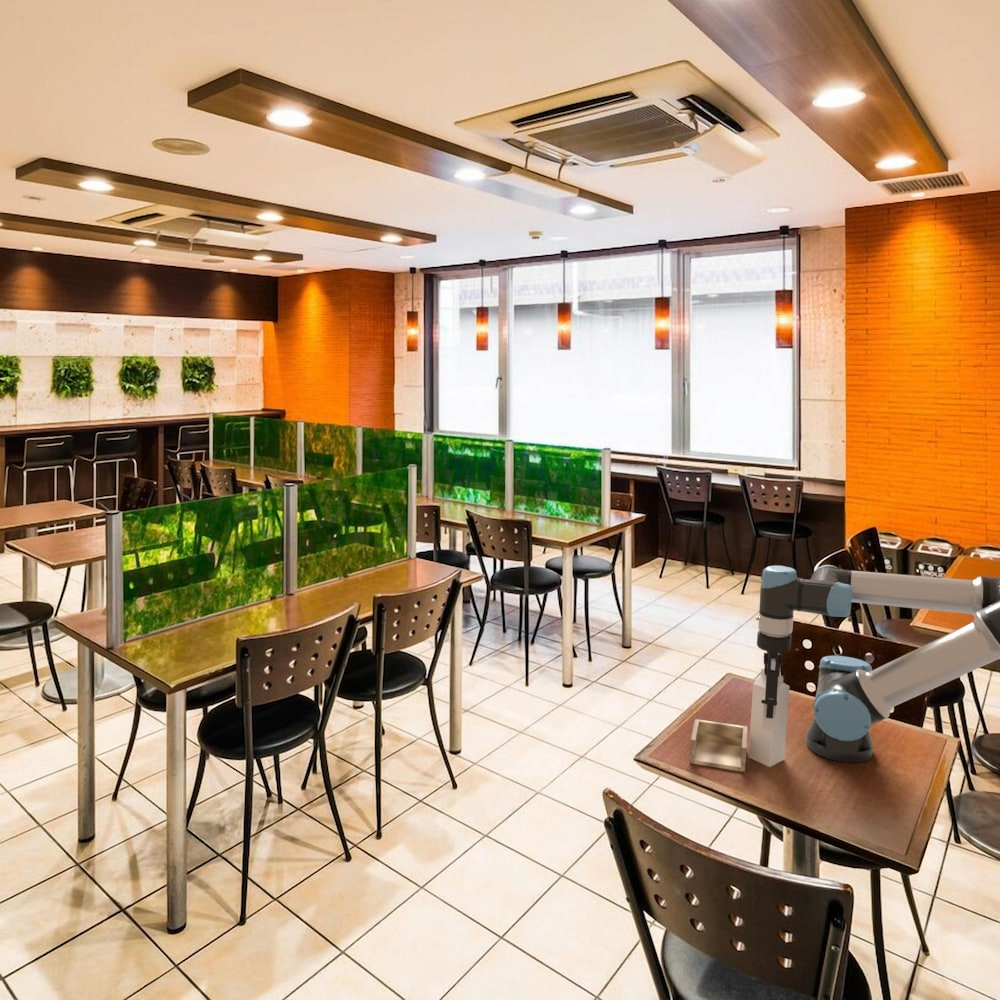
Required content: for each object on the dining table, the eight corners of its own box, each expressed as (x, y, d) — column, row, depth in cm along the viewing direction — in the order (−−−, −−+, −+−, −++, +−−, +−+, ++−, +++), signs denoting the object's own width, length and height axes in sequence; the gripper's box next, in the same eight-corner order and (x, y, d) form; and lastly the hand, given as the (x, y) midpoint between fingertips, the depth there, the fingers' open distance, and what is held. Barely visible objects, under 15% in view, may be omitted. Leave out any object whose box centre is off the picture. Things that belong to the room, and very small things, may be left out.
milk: (769, 767, 183) (775, 679, 179) (747, 757, 188) (753, 671, 184) (784, 759, 186) (791, 673, 182) (762, 749, 191) (768, 665, 187)
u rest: (746, 749, 191) (747, 726, 190) (744, 772, 181) (746, 748, 180) (694, 741, 195) (695, 719, 194) (689, 763, 185) (691, 739, 184)
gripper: (758, 614, 194) (752, 694, 198) (757, 648, 171) (750, 737, 175) (790, 617, 192) (783, 698, 196) (793, 652, 169) (786, 743, 172)
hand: (768, 717), depth 185 cm, fingers open, 13 cm apart
